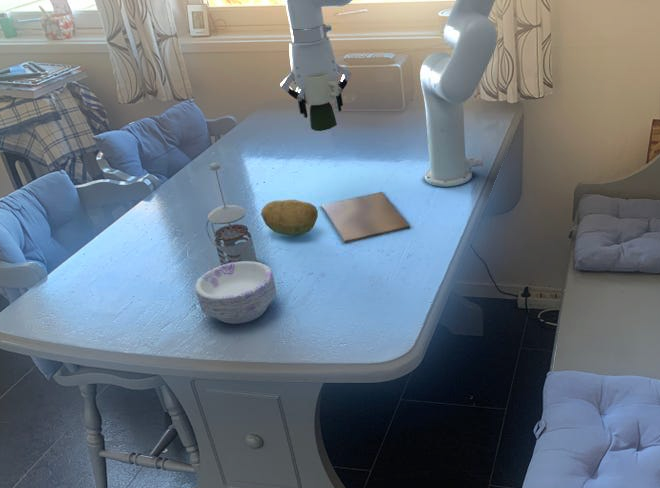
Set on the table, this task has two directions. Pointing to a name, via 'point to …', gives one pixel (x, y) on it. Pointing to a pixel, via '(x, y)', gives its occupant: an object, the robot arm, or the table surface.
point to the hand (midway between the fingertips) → (321, 112)
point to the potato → (289, 216)
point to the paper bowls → (236, 291)
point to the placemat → (364, 217)
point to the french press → (230, 232)
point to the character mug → (320, 102)
